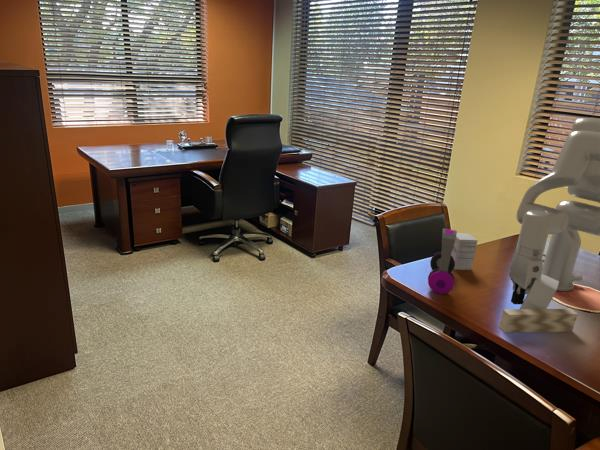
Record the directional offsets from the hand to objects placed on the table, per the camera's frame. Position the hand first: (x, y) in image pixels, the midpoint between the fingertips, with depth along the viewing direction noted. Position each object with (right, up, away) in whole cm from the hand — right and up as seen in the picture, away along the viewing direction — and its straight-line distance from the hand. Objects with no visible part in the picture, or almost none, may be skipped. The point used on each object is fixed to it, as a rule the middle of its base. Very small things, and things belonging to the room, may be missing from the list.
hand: (516, 303), depth 143 cm
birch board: (+1, -6, -9) cm, 11 cm away
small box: (+3, -4, -2) cm, 5 cm away
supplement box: (-7, +9, +32) cm, 34 cm away
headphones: (-19, +4, +17) cm, 26 cm away
